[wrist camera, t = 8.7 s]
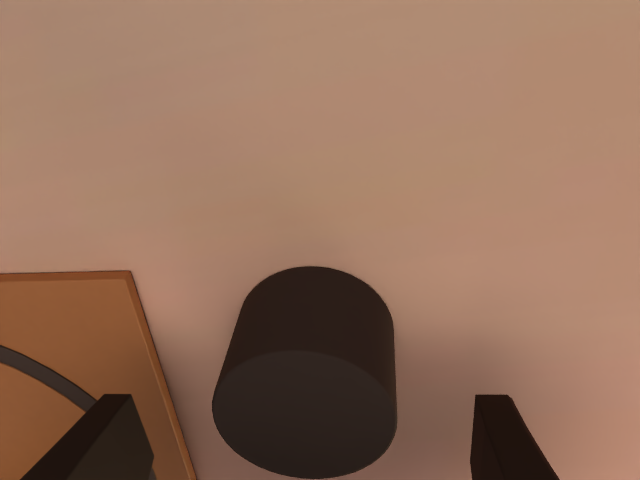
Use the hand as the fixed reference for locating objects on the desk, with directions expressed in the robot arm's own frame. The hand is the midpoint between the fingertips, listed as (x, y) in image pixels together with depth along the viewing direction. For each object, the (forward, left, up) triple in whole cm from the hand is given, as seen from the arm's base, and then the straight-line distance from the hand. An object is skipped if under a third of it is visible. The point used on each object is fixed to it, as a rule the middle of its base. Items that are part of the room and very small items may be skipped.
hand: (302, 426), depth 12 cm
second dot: (0, 0, -3) cm, 3 cm away
